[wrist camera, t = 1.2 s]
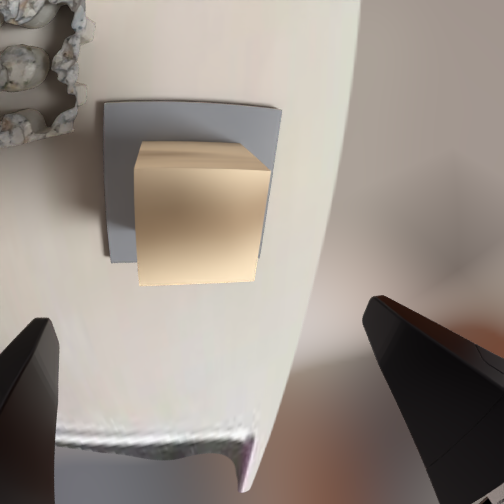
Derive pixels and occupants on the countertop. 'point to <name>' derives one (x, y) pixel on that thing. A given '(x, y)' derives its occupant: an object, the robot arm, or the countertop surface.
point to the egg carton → (41, 67)
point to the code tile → (172, 129)
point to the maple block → (198, 212)
